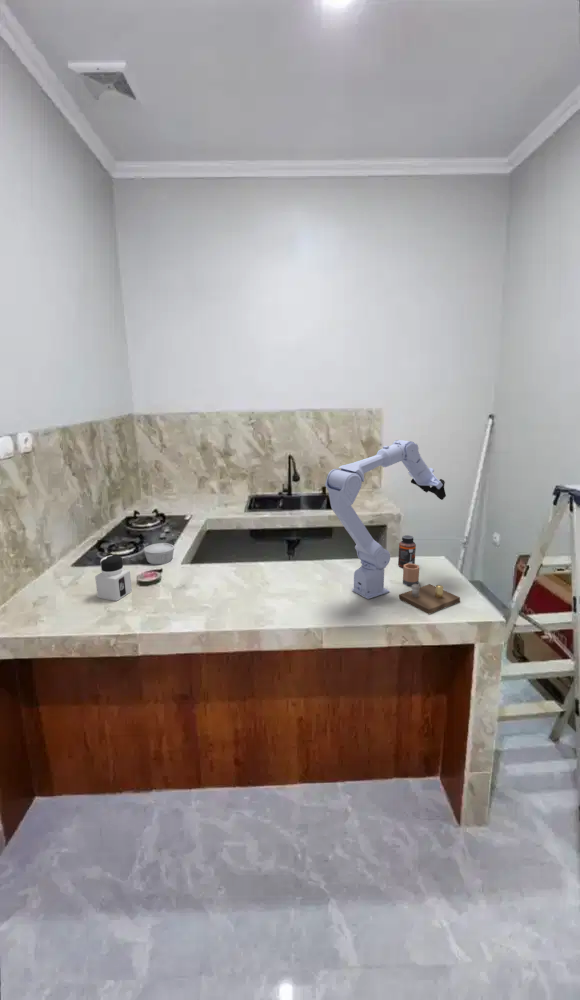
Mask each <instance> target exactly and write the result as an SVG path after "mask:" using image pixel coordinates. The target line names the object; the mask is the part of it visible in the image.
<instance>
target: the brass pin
mask: <svg viewBox="0 0 580 1000" xmlns="http://www.w3.org/2000/svg"><path fill="white" fill-rule="evenodd" d="M435 587H436V592H435V597H436V598H443V590H444V585H442V584H437V585H435Z"/></svg>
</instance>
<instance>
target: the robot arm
mask: <svg viewBox="0 0 580 1000" xmlns="http://www.w3.org/2000/svg"><path fill="white" fill-rule="evenodd" d="M418 445H419V444H418V443H415V442H414V441H410V440H403V439H397V440H394V441H393V442H392V444H391V445H383V446H382V448H381V449H379V450H377V453H376V454H375V455H373V456H370V457H367V458H364V459H361V460H357V461H355V462H351V463H347V464H343V465H340V466H339V467H337V468H332V469H331V470H330V471H329V472H328V474H327V477H326V479H325V484H324V486H325V488H326V489H327V491H328V496H329V503H330V508H331V510H332V511H333V512H334V514H335V516H336V517H337V519H338V520H339V521H340V523H341V524H342V526H343V527H344V529H345V530H346V532H347V533H348V534H349V536H350V537H351V539H352V540H353V541H354V543H355V544H356V545H355V546H354V549H355V550H356V554H357V557H358V559H359V560H360V564H361V565H360V567H359V568H357V569H355V570H354V573H353V588H352V589H351V591H353V592H354V593H356V594H358V595H360V596H361V597H364V598H365V599H366V600H369V599H372V598H376V597H378V596H382V595H384V594H387V593H390V589H387V588H385V587H384V586H385V569H386V568H387V566H388V565H389V563H390V561H391V553H390V551H389V550H388V549H385V548H384V547H383V545H381V544H380V543H379V542H378V541H376V540H375V539H374V538H373V537H372V535H371V534H370V532H369V530H368V529H367V527H366V525H365V523H363V521H362V520H361V518H360V517H359V515H358V514H357V512H356V511H355V509H354V508H353V506H352V505H353V504H354V503H355V501H356V498H357V497H358V494H359V492H360V490H361V489H362V488H361V487H362V484H363V483H364V482H365V474H366V473H368V472H370V471H373V470H374V469H376V468H379V467H380V466H381V467H383V468H387V467H389V466H392V465H395V464H398V463H399V462H401V463H402V464H403V466H405V468H406V470H407V471H408V475H409V476H410V477H411V478H412V479H411V480H410V483H411V484H413V485H415V486H417V487H418V488H420V489H421V490H422V491H423V492H425V493H428V492H430V493H431V494H434V495H435V496H436V497H437V498H438V499H439V500H442V501H444V499H445V497H447V495H446V491H445V484H446V481H445V480H444V479H442V478H437V477H436V475H435V474H434V472H435V469H434V468H432V467H429V466H428V465H427V463H426V462H425V460H424V459H423V458H422V456H421V454H420V452H419V451H420V450H419V446H418Z"/></svg>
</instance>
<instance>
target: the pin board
mask: <svg viewBox="0 0 580 1000" xmlns="http://www.w3.org/2000/svg"><path fill="white" fill-rule="evenodd" d="M411 587H412V588H411V590H408V591H406V592H402V593H400V594H398V600H400V601H402V602H404V603H406V604H408V605H410V606H412V607H414V608H415V609H418V610H420V611H422V612H424V613H425V614H427V615H430V614H433V613H436V612H438V611H440V610H443V609H445V607H446V608H449V607H452V606H453V605H455V603H456V604H458V603H460V602H461V597H460V596H458V595H456V594H453V593H451V592H449V591H447V590H444V589H443V598H436V597H435V592H436V585H433V584H430V583H428V584H427V585H422V586H421V585H420V584H419V583H418V584H413V585H412V586H411Z"/></svg>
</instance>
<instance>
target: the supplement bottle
mask: <svg viewBox="0 0 580 1000" xmlns="http://www.w3.org/2000/svg"><path fill="white" fill-rule="evenodd" d="M398 545H399V546H398V558H397V559H398V560H397V562H398V564H397V565H398V566H399V567H400V568H402V569H403V567H404V564H408V563H410V564H416V549H417V548H416V547H417V544H416V543H415V542H414V536H413V535H408V534H407V535H402V538H401V541H400V542H399V543H398Z"/></svg>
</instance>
